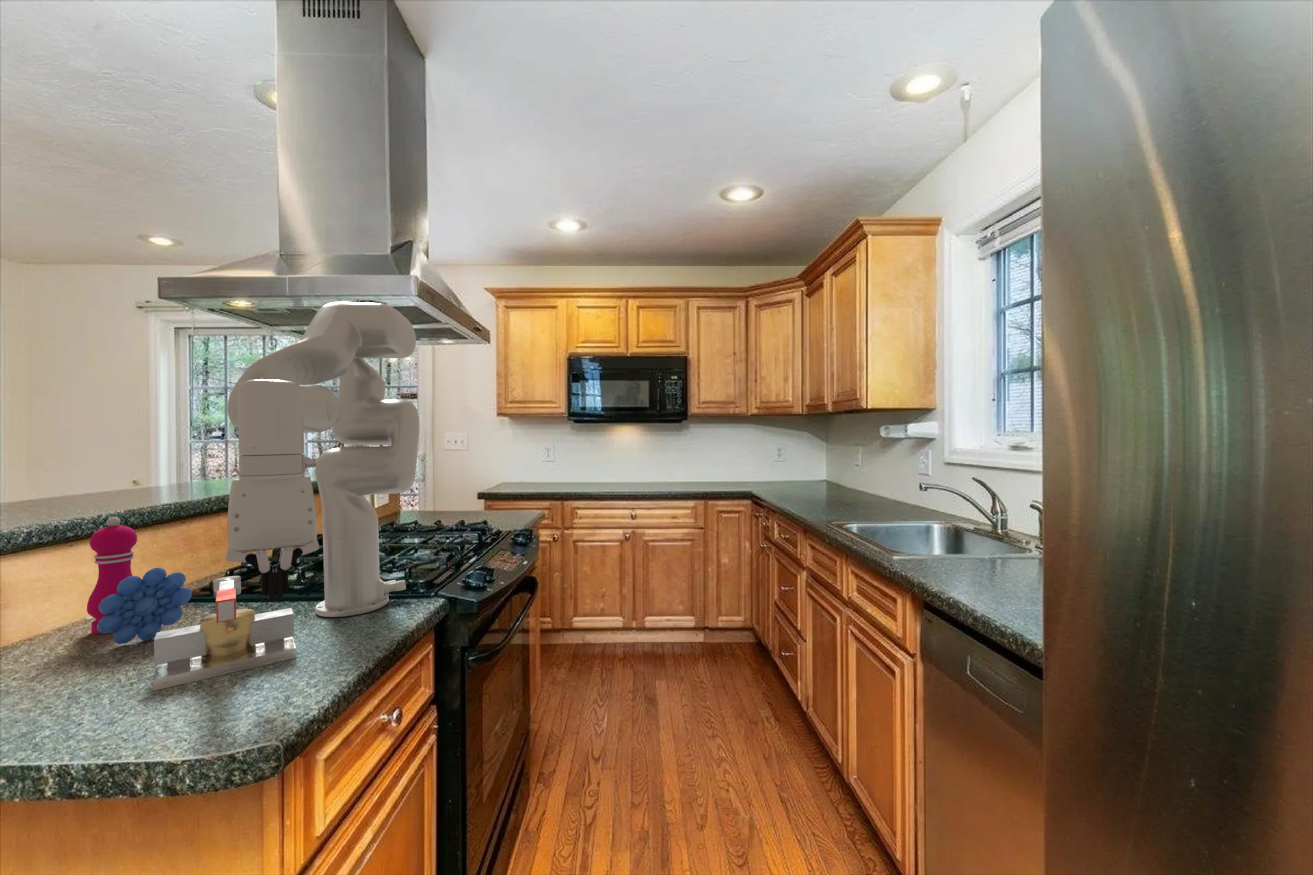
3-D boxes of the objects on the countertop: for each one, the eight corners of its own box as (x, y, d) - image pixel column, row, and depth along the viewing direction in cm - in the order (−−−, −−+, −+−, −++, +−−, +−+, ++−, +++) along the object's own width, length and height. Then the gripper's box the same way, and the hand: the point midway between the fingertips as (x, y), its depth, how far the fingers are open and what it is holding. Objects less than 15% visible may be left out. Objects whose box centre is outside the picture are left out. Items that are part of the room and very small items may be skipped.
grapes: (190, 624, 97) (188, 558, 97) (194, 633, 92) (192, 564, 92) (97, 643, 89) (95, 571, 89) (97, 655, 84) (95, 579, 84)
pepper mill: (153, 618, 101) (150, 512, 100) (129, 632, 94) (126, 518, 94) (104, 623, 98) (101, 515, 98) (76, 637, 92) (72, 521, 91)
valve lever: (213, 595, 80) (213, 577, 80) (240, 591, 82) (240, 573, 82) (210, 624, 68) (209, 602, 68) (242, 618, 70) (241, 597, 70)
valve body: (291, 640, 89) (289, 580, 89) (296, 657, 82) (294, 593, 82) (160, 668, 79) (158, 601, 79) (153, 690, 72) (150, 617, 72)
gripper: (330, 464, 83) (332, 582, 83) (204, 469, 74) (207, 602, 74) (337, 466, 77) (340, 593, 77) (201, 471, 68) (204, 616, 68)
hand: (275, 597), depth 75 cm, fingers closed
